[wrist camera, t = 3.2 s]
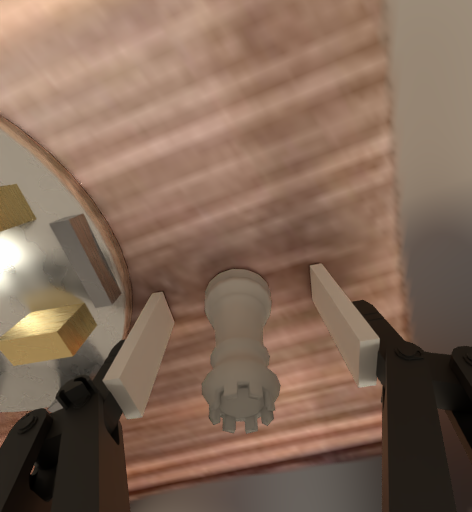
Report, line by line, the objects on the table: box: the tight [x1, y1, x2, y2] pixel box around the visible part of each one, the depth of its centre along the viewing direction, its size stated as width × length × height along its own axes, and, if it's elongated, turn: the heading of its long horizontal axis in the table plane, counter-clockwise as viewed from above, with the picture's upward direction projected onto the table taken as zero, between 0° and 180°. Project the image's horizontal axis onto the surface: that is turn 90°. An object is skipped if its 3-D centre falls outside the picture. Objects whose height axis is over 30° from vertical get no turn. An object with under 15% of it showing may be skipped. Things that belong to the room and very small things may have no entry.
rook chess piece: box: [202, 269, 281, 434], centre depth 12 cm, size 4×4×8 cm
